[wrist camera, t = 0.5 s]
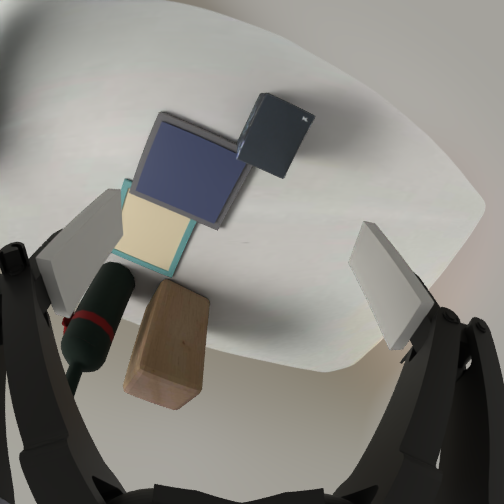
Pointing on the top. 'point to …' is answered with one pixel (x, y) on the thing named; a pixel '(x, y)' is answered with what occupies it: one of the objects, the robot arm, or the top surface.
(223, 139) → the ink pad
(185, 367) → the wooden block
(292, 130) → the box
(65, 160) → the top surface
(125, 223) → the print frame
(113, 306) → the wine bottle
